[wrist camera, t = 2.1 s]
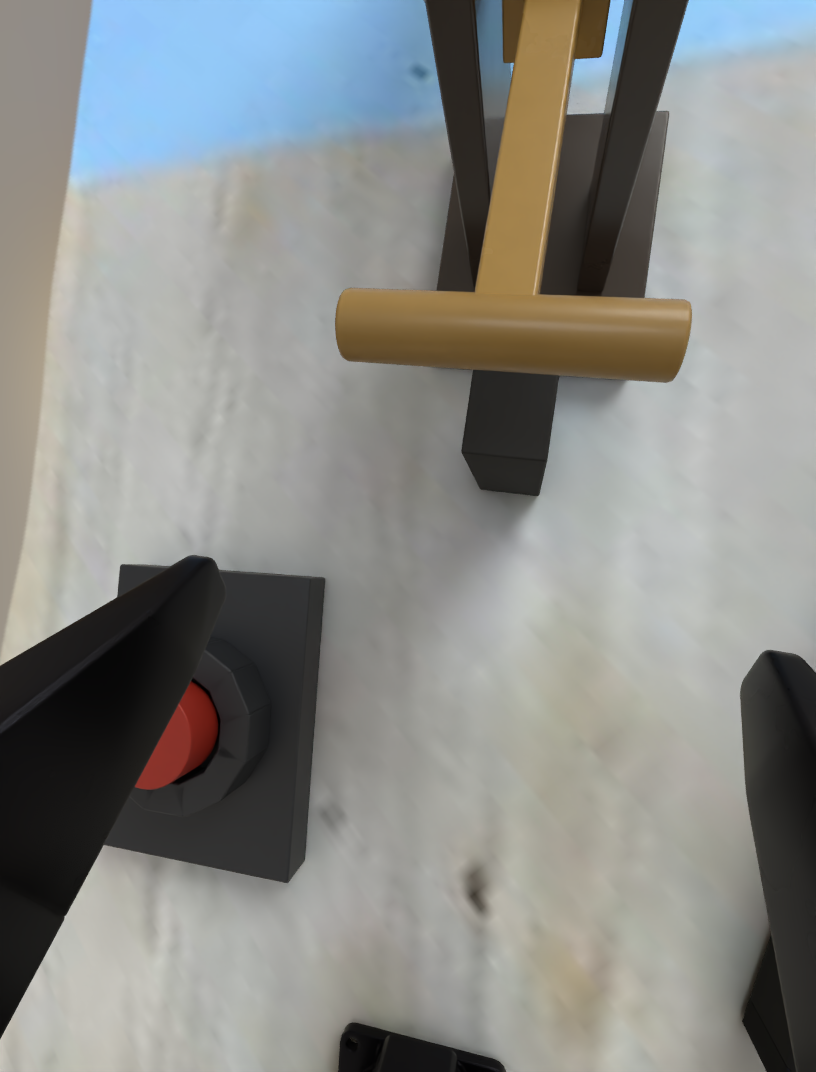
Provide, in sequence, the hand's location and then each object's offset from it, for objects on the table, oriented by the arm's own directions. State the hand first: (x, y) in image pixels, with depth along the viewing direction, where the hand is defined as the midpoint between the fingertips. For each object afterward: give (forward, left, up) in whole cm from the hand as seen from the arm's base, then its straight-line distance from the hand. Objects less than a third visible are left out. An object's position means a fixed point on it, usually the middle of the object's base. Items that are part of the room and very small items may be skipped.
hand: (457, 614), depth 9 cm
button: (-6, +12, -10) cm, 16 cm away
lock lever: (+10, -1, -3) cm, 10 cm away
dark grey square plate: (-6, +12, -13) cm, 18 cm away
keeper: (+5, 0, -13) cm, 14 cm away
